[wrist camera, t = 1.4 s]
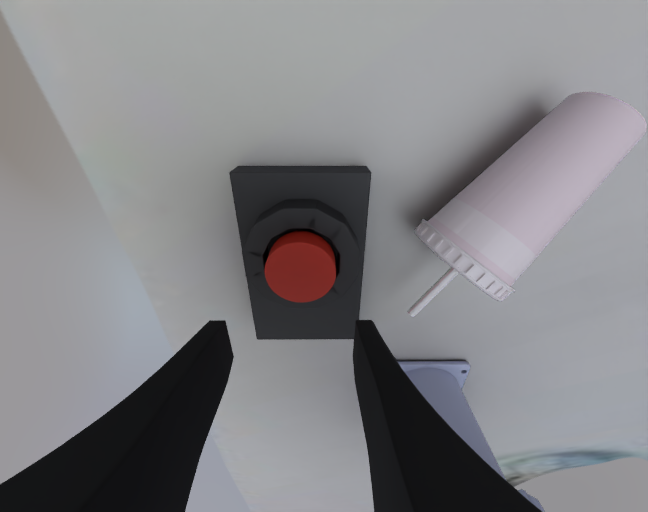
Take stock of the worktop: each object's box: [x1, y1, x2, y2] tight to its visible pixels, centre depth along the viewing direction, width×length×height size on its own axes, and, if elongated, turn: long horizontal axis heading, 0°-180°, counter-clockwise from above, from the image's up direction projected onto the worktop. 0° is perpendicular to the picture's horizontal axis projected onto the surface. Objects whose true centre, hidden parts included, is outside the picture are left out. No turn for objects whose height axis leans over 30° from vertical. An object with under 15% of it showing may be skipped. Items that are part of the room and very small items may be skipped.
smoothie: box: [407, 92, 647, 317], centre depth 15 cm, size 6×6×14 cm
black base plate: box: [230, 166, 371, 339], centre depth 18 cm, size 13×8×4 cm, turn 0°
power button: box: [265, 231, 336, 302], centre depth 16 cm, size 4×4×2 cm
